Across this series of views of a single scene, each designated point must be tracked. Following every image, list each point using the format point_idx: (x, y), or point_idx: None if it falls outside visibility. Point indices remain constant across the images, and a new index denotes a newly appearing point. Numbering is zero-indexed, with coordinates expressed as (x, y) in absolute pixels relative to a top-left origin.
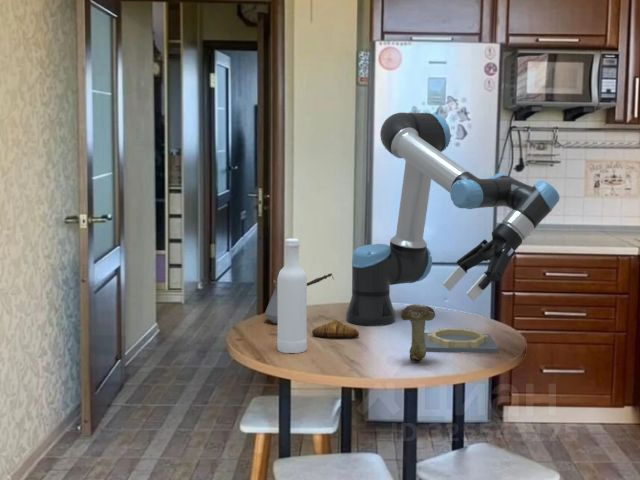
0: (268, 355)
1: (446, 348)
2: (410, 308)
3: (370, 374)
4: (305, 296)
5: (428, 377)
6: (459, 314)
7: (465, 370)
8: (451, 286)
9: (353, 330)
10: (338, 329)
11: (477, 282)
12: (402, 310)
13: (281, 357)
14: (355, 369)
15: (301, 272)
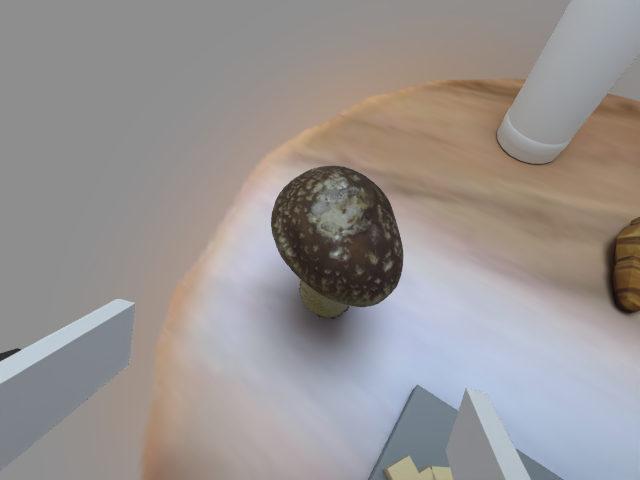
0: (497, 101)
1: (380, 460)
2: (324, 169)
3: (299, 172)
4: (585, 35)
5: (208, 252)
6: None
7: (188, 371)
8: (455, 459)
9: (628, 283)
10: (627, 243)
11: (35, 344)
12: (359, 173)
13: (477, 111)
14: None
15: None
